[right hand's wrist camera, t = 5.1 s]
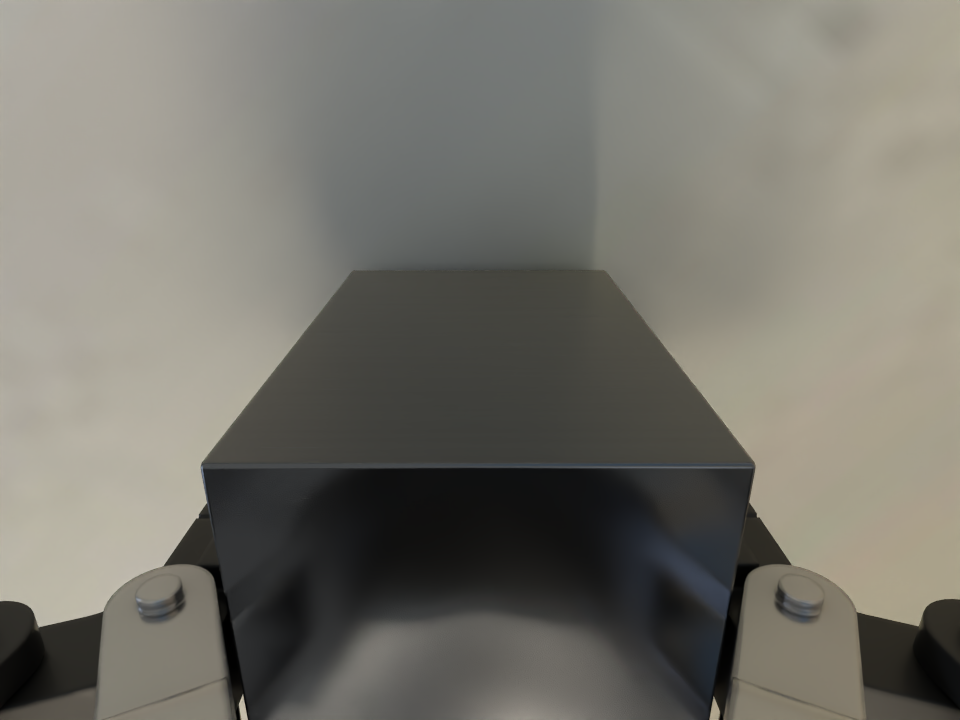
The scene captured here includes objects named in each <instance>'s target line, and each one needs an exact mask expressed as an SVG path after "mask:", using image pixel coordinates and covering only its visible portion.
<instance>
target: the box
mask: <svg viewBox="0 0 960 720" xmlns="http://www.w3.org/2000/svg"><path fill="white" fill-rule="evenodd" d="M201 472H202V478H203V483H204V488H205V494H206V499H207V504H208V510H209V515H210V520H211V526H212V531H213V536H214V541H215V547H216V552H217V557H218V563H219V568H220V573H221V579H222V584H223V589H224V595H225V600H226V605H227V611H228V616H229V621H230V627H231V632H232V637H233V642H234V648H235V653H236V658H237V664H238V669H239V674H240V680H241V685H242V690H243V696H244V701H245V706H246V712H247V717H248V720H709V718H710V713H711V707H712V702H713V696H714V691H715V685H716V680H717V675H718V669H719V664H720V658H721V653H722V647H723V642H724V636H725V631H726V625H727V620H728V615H729V609H730V604H731V598H732V593H733V587H734V582H735V576H736V571H737V566H738V560H739V555H740V549H741V544H742V538H743V533H744V527H745V522H746V516H747V511H748V506H749V500H750V495H751V489H752V484H753V478H754V473H755V463H754V461H753V460H752V459H751V457H750V456H749V455H748V454H747V452H746V451H745V450H744V448H743V447H742V446H741V445H740V443H739V442H738V441H737V439H736V438H735V437H734V436H733V434H732V433H731V432H730V430H729V429H728V428H727V427H726V425H725V424H724V423H723V421H722V420H721V419H720V418H719V416H718V415H717V414H716V412H715V411H714V410H713V409H712V407H711V406H710V405H709V403H708V402H707V401H706V400H705V398H704V397H703V396H702V394H701V393H700V392H699V391H698V389H697V388H696V387H695V385H694V384H693V383H692V382H691V380H690V379H689V378H688V376H687V375H686V374H685V373H684V371H683V370H682V369H681V367H680V366H679V365H678V364H677V362H676V361H675V360H674V358H673V357H672V356H671V355H670V353H669V352H668V351H667V349H666V348H665V347H664V346H663V344H662V343H661V342H660V340H659V339H658V338H657V337H656V335H655V334H654V333H653V331H652V330H651V329H650V328H649V326H648V325H647V324H646V322H645V321H644V320H643V319H642V317H641V316H640V315H639V313H638V312H637V311H636V310H635V308H634V307H633V306H632V304H631V303H630V302H629V301H628V299H627V298H626V297H625V295H624V294H623V293H622V291H621V290H620V289H619V288H618V286H617V285H616V284H615V282H614V281H613V280H612V279H611V277H610V276H609V275H608V273H607V272H606V271H604V270H474V271H352V272H351V274H350V275H349V276H348V277H347V279H346V280H345V281H344V283H343V284H342V285H341V286H340V288H339V289H338V290H337V291H336V293H335V294H334V295H333V297H332V298H331V299H330V300H329V302H328V303H327V304H326V305H325V307H324V308H323V309H322V311H321V312H320V313H319V314H318V316H317V317H316V318H315V319H314V321H313V322H312V323H311V325H310V326H309V327H308V328H307V330H306V331H305V332H304V333H303V335H302V336H301V337H300V339H299V340H298V341H297V342H296V344H295V345H294V346H293V347H292V349H291V350H290V351H289V353H288V354H287V355H286V356H285V358H284V359H283V360H282V362H281V363H280V364H279V365H278V367H277V368H276V369H275V370H274V372H273V373H272V374H271V376H270V377H269V378H268V379H267V381H266V382H265V383H264V384H263V386H262V387H261V388H260V390H259V391H258V392H257V393H256V395H255V396H254V397H253V398H252V400H251V401H250V402H249V404H248V405H247V406H246V407H245V409H244V410H243V411H242V412H241V414H240V415H239V416H238V418H237V419H236V420H235V421H234V423H233V424H232V425H231V426H230V428H229V429H228V430H227V432H226V433H225V434H224V435H223V437H222V438H221V439H220V440H219V442H218V443H217V444H216V446H215V447H214V448H213V449H212V451H211V452H210V453H209V454H208V456H207V457H206V458H205V460H204V461H203V462H202V464H201Z"/></svg>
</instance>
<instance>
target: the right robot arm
mask: <svg viewBox="0 0 960 720" xmlns="http://www.w3.org/2000/svg"><path fill="white" fill-rule="evenodd" d="M242 695H243V690H242V685H241V680H240V674H239V669H238V664H237V658H236V653H235V648H234V642H233V637H232V632H231V627H230V621H229V616H228V611H227V605H226V600H225V595H224V589H223V584H222V579H221V573H220V568H219V563H218V557H217V552H216V547H215V541H214V536H213V531H212V526H211V520H210V515H209V510H208V504H206V505H205V507H204V508H203V510H202V511H201V513H200V514H199V519H196V520H195V521H194V523H193V524H192V526H191V527H190V529H189V530H188V531H187V533H186V534H185V536H184V537H183V539H182V540H181V542H180V543H179V544H178V546H177V547H176V549H175V550H174V552H173V553H172V555H171V556H170V558H169V559H168V560H167V562H166V563H165V565H164V566H163V567H160V568H157V569H153V570H150V571H148V572H146V573H143V574H141V575H139V576H137V577H135V578H133V579H132V580H130V581H129V582H127V583H126V584H124V585H123V586H122V587H121V588H119V589H118V590H117V591H116V592H115V593H114V594H113V595H112V596H111V598H110V599H109V601H108V602H107V604H106V606H105V608H104V612H101V613H98V614H95V615H91V616H87V617H83V618H79V619H74V620H70V621H65V622H61V623H56V624H52V625H48V626H43V627H39V628H38V625H37V622H36V619H35V616H34V613H33V611H32V610H31V608H29V607H28V606H27V605H25V604H22V603H19V602H14V601H1V602H0V720H241V714H240V709H239V702H240V700H241V697H242ZM714 697H715V700H716V702H717V705H718V707H719V710H720V714H719V720H960V600H957V599H944V600H939V601H935V602H933V603H931V604H930V605H928V606H927V607H926V609H925V610H924V613H923V616H922V619H921V622H920V625H919V627H918V626H914V625H910V624H905V623H901V622H896V621H892V620H887V619H883V618H878V617H874V616H869V615H866V614H862V613H858V612H856V608H855V606H854V604H853V602H852V601H851V599H850V598H849V596H848V595H847V594H846V593H845V592H844V591H843V590H842V589H841V588H839V587H838V586H837V585H836V584H834V583H833V582H831V581H830V580H828V579H827V578H825V577H823V576H821V575H819V574H817V573H814V572H812V571H810V570H807V569H803V568H800V567H796V566H792V565H791V563H790V562H789V560H788V559H787V557H786V556H785V554H784V553H783V551H782V550H781V549H780V547H779V546H778V544H777V543H776V541H775V540H774V538H773V537H772V535H771V534H770V532H769V531H768V529H767V528H766V527H765V525H764V524H763V522H762V521H761V519H760V518H757V513H756V512H755V510H754V509H753V507H752V506H751V505H750V503H749V506H748V511H747V516H746V522H745V527H744V533H743V538H742V544H741V549H740V555H739V560H738V566H737V571H736V576H735V582H734V587H733V593H732V598H731V604H730V609H729V615H728V620H727V625H726V631H725V636H724V642H723V647H722V653H721V658H720V664H719V669H718V675H717V680H716V685H715V691H714Z"/></svg>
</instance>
